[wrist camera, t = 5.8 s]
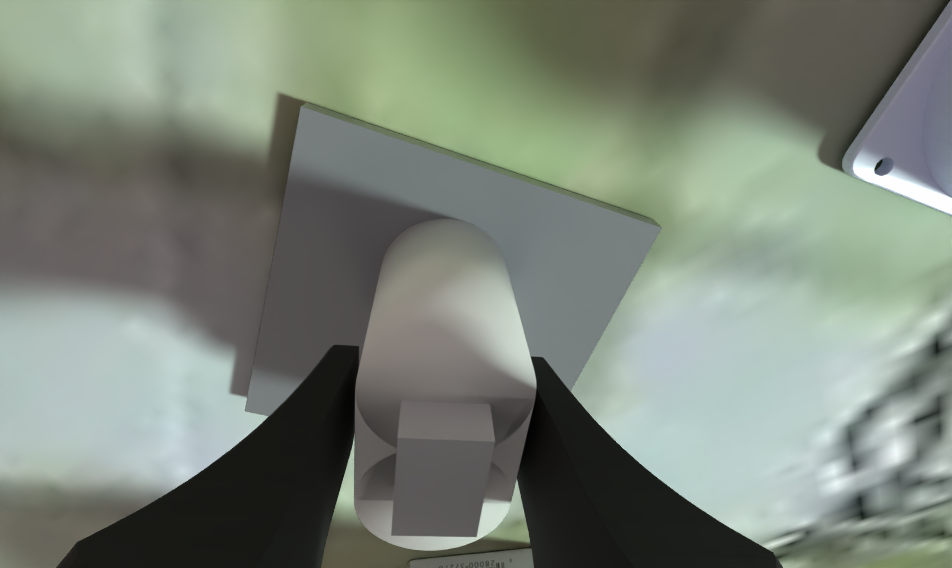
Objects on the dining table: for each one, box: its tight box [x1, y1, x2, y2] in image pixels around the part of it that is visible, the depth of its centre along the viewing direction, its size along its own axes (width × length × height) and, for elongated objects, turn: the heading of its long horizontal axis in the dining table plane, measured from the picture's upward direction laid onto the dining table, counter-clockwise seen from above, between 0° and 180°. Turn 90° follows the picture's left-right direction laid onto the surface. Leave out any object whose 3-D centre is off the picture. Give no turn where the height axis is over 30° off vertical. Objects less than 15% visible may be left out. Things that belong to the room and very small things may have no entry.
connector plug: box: [354, 218, 536, 551], centre depth 12 cm, size 4×7×6 cm, turn 173°
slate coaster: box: [245, 102, 662, 434], centre depth 15 cm, size 10×10×1 cm
